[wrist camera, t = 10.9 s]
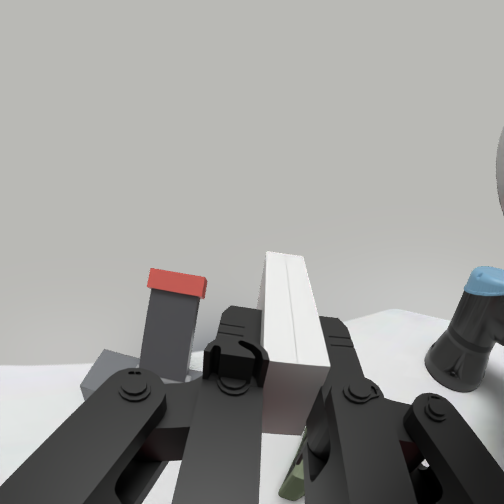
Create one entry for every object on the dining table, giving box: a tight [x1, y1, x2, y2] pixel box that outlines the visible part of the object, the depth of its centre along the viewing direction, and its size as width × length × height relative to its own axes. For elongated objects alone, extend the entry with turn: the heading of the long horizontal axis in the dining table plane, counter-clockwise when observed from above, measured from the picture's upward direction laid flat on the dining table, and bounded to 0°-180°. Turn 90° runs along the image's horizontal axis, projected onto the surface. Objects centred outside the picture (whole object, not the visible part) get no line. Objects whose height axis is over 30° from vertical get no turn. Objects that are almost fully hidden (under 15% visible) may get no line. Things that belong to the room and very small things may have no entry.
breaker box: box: [80, 349, 203, 401], centre depth 36 cm, size 20×8×6 cm, turn 87°
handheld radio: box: [279, 428, 307, 501], centre depth 36 cm, size 7×3×25 cm
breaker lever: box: [136, 268, 207, 384], centre depth 36 cm, size 7×3×14 cm
